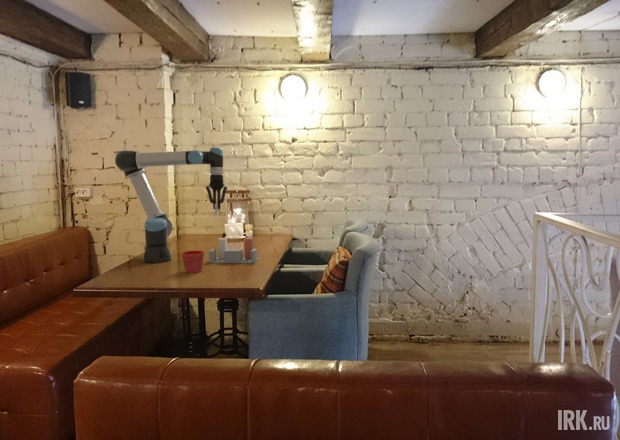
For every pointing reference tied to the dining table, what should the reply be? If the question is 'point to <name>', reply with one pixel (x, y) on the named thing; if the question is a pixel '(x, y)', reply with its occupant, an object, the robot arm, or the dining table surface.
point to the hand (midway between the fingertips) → (216, 215)
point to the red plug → (248, 247)
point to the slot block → (232, 256)
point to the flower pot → (193, 261)
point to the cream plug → (222, 247)
